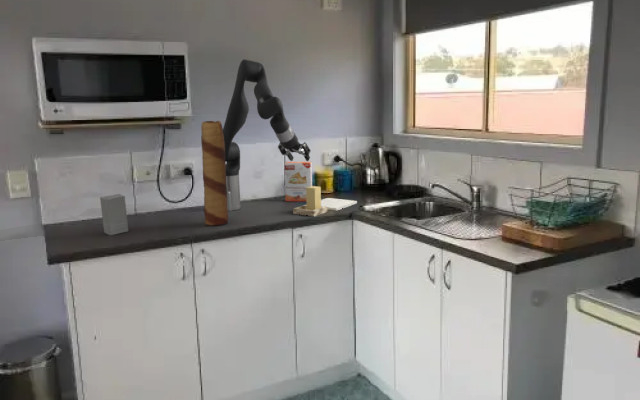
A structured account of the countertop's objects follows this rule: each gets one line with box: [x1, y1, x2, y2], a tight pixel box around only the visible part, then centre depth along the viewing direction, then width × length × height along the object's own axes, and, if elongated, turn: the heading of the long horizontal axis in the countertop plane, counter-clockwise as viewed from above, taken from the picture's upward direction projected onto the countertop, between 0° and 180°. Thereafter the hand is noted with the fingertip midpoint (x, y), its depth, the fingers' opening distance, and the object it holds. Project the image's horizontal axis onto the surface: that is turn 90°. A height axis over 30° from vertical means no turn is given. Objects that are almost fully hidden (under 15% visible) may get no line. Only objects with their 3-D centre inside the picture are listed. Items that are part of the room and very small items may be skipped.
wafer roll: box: [200, 120, 229, 226], centre depth 225 cm, size 10×11×45 cm
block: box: [306, 185, 322, 210], centre depth 248 cm, size 5×5×12 cm
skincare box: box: [99, 193, 129, 236], centre depth 215 cm, size 8×7×16 cm
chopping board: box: [321, 197, 358, 211], centre depth 263 cm, size 20×18×1 cm
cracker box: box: [284, 161, 313, 203], centre depth 274 cm, size 14×6×21 cm, turn 84°
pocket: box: [292, 203, 328, 217], centre depth 246 cm, size 12×12×2 cm
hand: (300, 159), depth 236 cm, fingers open, 8 cm apart
